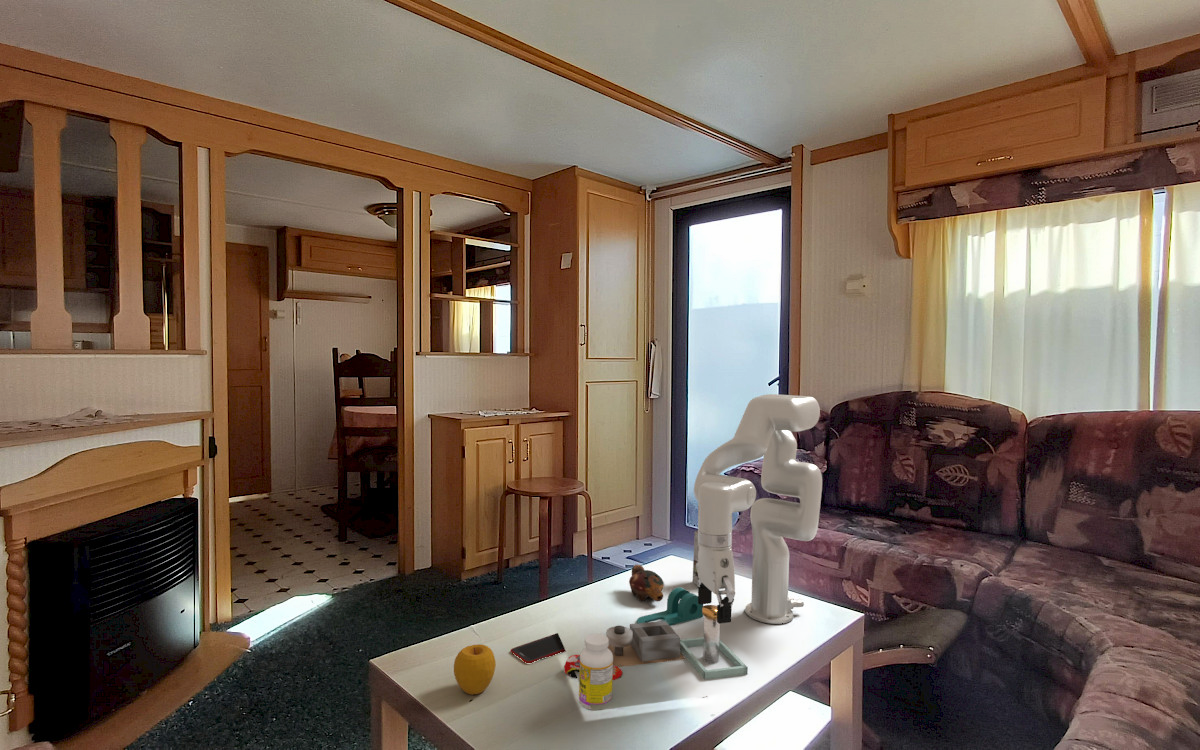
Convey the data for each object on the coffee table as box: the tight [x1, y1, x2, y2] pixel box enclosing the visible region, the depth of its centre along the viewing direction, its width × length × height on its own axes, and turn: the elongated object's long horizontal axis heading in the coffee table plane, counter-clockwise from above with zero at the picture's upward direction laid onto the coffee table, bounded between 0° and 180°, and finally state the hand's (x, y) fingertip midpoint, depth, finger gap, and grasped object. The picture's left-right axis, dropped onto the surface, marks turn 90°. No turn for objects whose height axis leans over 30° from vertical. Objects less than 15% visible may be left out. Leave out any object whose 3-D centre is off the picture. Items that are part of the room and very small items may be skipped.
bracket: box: [636, 586, 704, 627], centre depth 156 cm, size 18×7×8 cm, turn 121°
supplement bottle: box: [578, 633, 613, 711], centre depth 120 cm, size 7×7×13 cm
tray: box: [680, 636, 749, 680], centre depth 135 cm, size 10×15×3 cm, turn 15°
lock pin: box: [702, 604, 721, 665], centre depth 135 cm, size 4×4×12 cm
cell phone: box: [510, 632, 567, 664], centre depth 142 cm, size 8×15×1 cm, turn 130°
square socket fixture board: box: [605, 620, 686, 668], centre depth 138 cm, size 17×11×8 cm, turn 105°
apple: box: [453, 643, 497, 696], centre depth 124 cm, size 8×8×9 cm
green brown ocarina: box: [628, 564, 665, 602], centre depth 174 cm, size 10×15×8 cm, turn 31°
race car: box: [563, 654, 624, 681], centre depth 130 cm, size 13×5×4 cm, turn 65°
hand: (714, 612), depth 136 cm, fingers open, 9 cm apart
